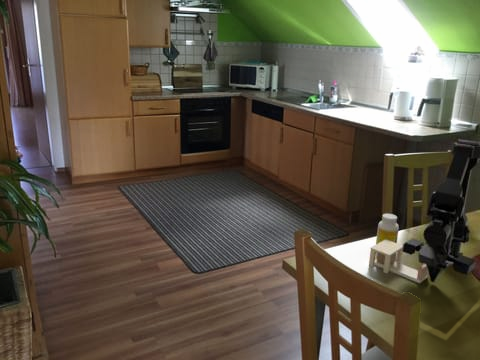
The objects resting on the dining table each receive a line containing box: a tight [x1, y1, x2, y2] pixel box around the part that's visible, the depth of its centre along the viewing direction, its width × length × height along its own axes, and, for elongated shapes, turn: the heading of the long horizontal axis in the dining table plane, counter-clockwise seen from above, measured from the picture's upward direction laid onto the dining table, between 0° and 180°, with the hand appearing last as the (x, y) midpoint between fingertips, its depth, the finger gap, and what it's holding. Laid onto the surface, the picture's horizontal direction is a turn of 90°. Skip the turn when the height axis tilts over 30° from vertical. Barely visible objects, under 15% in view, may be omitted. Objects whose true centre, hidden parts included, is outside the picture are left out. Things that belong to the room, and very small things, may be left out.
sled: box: [374, 252, 429, 284], centre depth 135 cm, size 5×16×5 cm, turn 43°
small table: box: [368, 239, 404, 274], centre depth 136 cm, size 9×30×7 cm, turn 43°
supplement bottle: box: [375, 213, 400, 245], centre depth 149 cm, size 7×7×13 cm
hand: (432, 281), depth 129 cm, fingers closed
